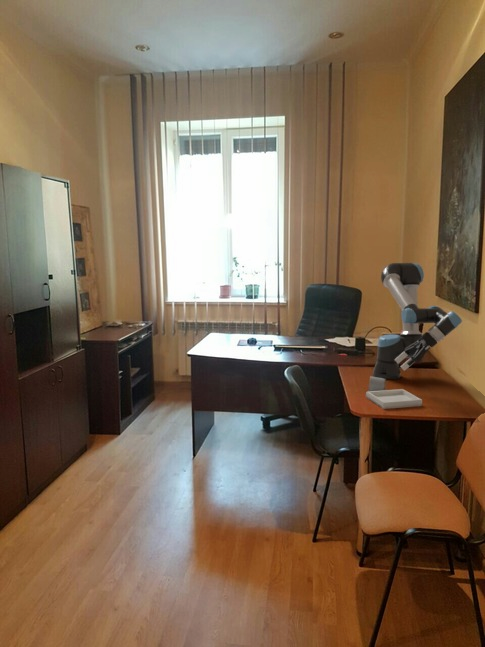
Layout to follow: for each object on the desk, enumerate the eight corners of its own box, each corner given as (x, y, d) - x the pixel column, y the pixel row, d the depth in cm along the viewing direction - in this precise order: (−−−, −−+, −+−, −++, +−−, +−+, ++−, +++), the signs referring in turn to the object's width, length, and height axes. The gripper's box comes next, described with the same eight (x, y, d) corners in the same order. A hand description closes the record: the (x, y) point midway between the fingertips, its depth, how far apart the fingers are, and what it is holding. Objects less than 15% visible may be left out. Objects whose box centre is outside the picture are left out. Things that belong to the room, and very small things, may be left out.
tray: (365, 397, 226) (366, 391, 226) (402, 394, 231) (402, 389, 230) (383, 408, 211) (383, 402, 210) (421, 405, 215) (422, 399, 215)
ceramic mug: (385, 394, 231) (386, 379, 230) (368, 393, 233) (369, 378, 232) (384, 388, 241) (385, 374, 240) (368, 387, 243) (369, 373, 242)
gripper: (445, 347, 216) (410, 377, 220) (430, 337, 240) (398, 364, 245) (434, 336, 216) (399, 366, 220) (420, 326, 240) (389, 354, 244)
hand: (399, 365), depth 232 cm, fingers open, 13 cm apart
